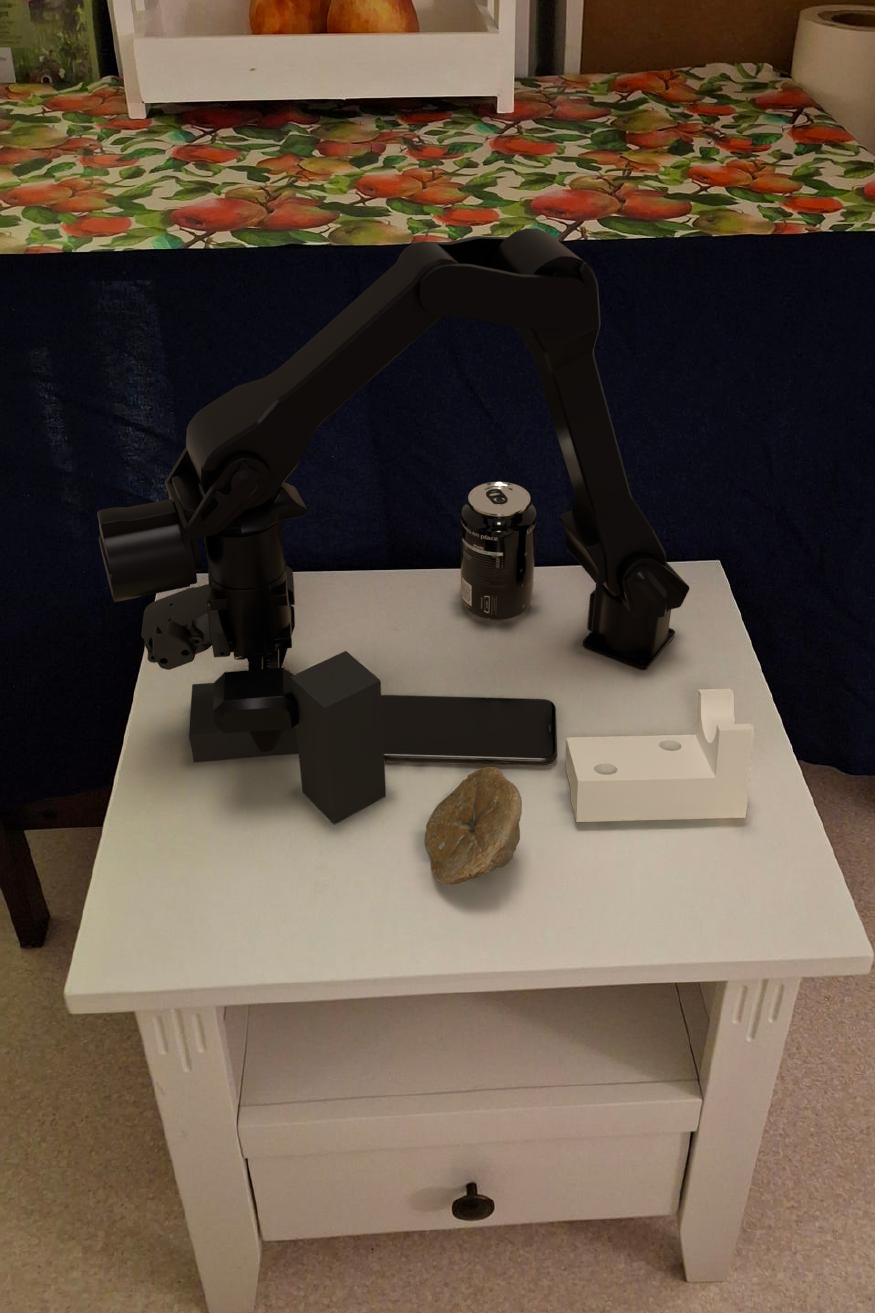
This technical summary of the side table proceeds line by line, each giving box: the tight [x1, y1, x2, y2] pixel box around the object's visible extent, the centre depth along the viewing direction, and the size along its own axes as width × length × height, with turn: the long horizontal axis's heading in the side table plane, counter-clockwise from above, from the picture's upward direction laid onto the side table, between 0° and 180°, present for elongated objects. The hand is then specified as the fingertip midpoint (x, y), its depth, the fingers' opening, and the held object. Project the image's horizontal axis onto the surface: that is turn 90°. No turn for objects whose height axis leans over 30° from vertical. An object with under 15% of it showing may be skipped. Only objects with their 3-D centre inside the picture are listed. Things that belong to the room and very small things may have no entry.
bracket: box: [564, 688, 756, 823], centre depth 95 cm, size 13×7×8 cm, turn 92°
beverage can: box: [460, 481, 538, 622], centre depth 113 cm, size 7×7×12 cm
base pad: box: [188, 682, 299, 763], centre depth 102 cm, size 12×6×3 cm, turn 96°
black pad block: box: [290, 650, 387, 825], centre depth 93 cm, size 5×4×12 cm
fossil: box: [424, 766, 523, 886], centre depth 90 cm, size 9×4×10 cm
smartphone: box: [381, 694, 558, 767], centre depth 102 cm, size 8×1×16 cm
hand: (266, 721), depth 102 cm, fingers open, 7 cm apart
